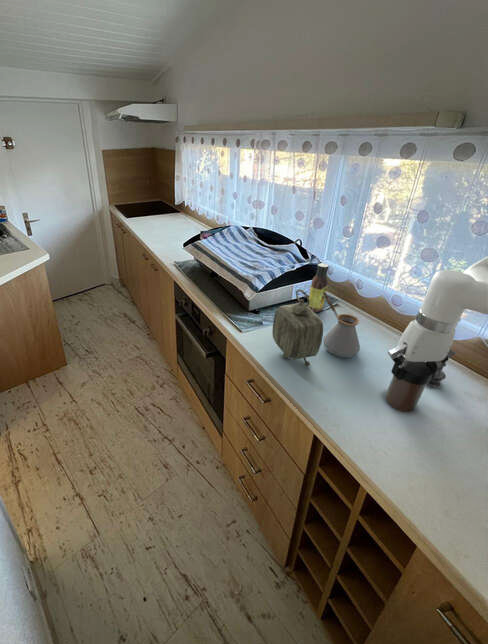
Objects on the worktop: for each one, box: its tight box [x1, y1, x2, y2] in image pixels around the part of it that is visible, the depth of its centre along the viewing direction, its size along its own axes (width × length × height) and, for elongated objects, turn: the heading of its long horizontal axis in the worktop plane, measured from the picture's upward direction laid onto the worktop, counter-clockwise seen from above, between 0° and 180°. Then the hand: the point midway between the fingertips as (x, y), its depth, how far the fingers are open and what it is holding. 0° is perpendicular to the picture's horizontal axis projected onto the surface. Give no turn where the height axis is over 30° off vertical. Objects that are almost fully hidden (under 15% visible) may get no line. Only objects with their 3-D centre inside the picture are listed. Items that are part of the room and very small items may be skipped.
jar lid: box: [400, 357, 433, 385], centre depth 80 cm, size 8×8×3 cm
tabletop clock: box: [271, 289, 324, 367], centre depth 97 cm, size 14×9×25 cm, turn 13°
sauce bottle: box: [306, 262, 330, 313], centre depth 125 cm, size 6×6×20 cm
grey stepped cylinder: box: [426, 362, 447, 388], centre depth 90 cm, size 6×6×12 cm
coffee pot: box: [320, 291, 361, 358], centre depth 106 cm, size 21×12×15 cm, turn 9°
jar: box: [384, 374, 427, 413], centre depth 83 cm, size 7×7×12 cm
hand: (411, 375), depth 81 cm, fingers closed on jar lid, 7 cm apart
